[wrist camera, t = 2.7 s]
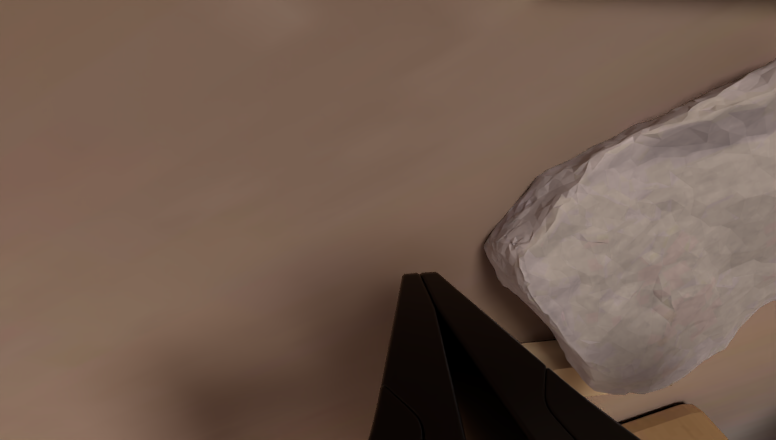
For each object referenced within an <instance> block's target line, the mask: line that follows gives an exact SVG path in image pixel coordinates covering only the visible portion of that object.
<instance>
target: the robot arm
mask: <svg viewBox="0 0 776 440" xmlns="http://www.w3.org/2000/svg"><path fill="white" fill-rule="evenodd" d="M368 440H641V439H640V438H638V437H637V436H636V435H634V434H633V433H631V432H630V431H629V430H627V429H626V428H625V427H623V426H622V425H621V424H619V423H618V422H616V421H615V420H614V419H612V418H611V417H610V416H608V415H607V414H606V413H605V412H603V411H602V410H601V409H599V408H598V407H597V406H595V405H594V404H593V403H591V402H590V401H589V400H587V399H586V398H585V397H584V396H582V395H581V394H580V393H579V392H578V391H576V390H575V389H574V388H573V387H571V386H570V385H569V384H568V383H567V382H565V381H564V380H563V379H562V378H561V377H559V376H558V375H557V374H556V373H555V372H554V371H552V370H551V369H550V368H546V365H545V364H544V363H543V362H542V361H540V360H539V359H538V358H537V357H536V356H535V355H533V354H532V353H531V352H530V351H529V350H527V349H526V348H525V347H524V346H523V345H522V344H520V343H519V342H518V341H517V340H516V339H515V338H513V337H512V336H511V335H510V334H509V333H507V332H506V331H505V330H504V329H503V328H502V327H500V326H499V325H498V324H497V323H496V322H495V321H493V320H492V319H491V318H490V317H489V316H488V315H486V314H485V313H484V312H483V311H482V310H480V309H479V308H478V307H477V306H476V305H475V304H473V303H472V302H471V301H470V300H469V299H468V298H466V297H465V296H464V295H463V294H462V293H460V292H459V291H458V290H457V289H456V288H455V287H453V286H452V285H451V284H450V283H449V282H448V281H446V280H445V279H444V278H443V277H442V276H441V275H439V274H438V273H436V272H425V273H421V274H418V273H411V274H404V275H403V276H402V281H401V286H400V291H399V296H398V302H397V307H396V312H395V317H394V322H393V327H392V332H391V337H390V343H389V348H388V353H387V358H386V363H385V368H384V373H383V379H382V384H381V388H380V393H379V398H378V403H377V408H376V412H375V416H374V421H373V425H372V429H371V433H370V436H369V439H368Z"/></svg>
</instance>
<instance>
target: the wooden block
mask: <svg viewBox="0 0 776 440" xmlns="http://www.w3.org/2000/svg"><path fill="white" fill-rule="evenodd" d="M621 425H622V426H623V427H625V428H626V429H627V430H629V431H630V432H631V433H633V434H634V435H636V436H637V437H638V438H640V439H641V440H728V439H727V438H726V436H725V435H724V434H723V433H722V432H721V431H720V430H719V429H718V428H717V427H716V426H715V424H714V423H713V422H712V421H711V420H710V419H709V418H708V417H707V416H706V415H705V414H704V412H702V411H701V410H700V409H698V408H697V407H695V406H694V405H692V404H681V405H676V406H673V407H670V408H667V409H665V410H662V411H659V412H656V413H653V414H650V415H647V416H644V417H641V418H638V419H635V420H632V421H629V422H626V423H623V424H621Z"/></svg>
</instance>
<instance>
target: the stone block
mask: <svg viewBox="0 0 776 440" xmlns="http://www.w3.org/2000/svg"><path fill="white" fill-rule="evenodd" d="M484 249H485V251H486V254H487V257H488V259H489V261H490V262H491V264H492V265H493V267H494V269H495V271H496V275H497V278H498V279H499V280H500V282H501V283H502V285H503V286H504V287H507V288H509V289H510V290H511V291H512V292H513V293H514V294H516V295H518V297H519V298H521V300H522V301H523V302H524V303H526V304H527V305H528V306H529V307H530V308H531V309H532V310H533V311H534V312H535V313H536V314H537V315H538V316H539V317H540V318H541V319H542V321H543V322H544V323H545V324H546V325H548V327H549V329H550V330H551V331H552V333H553V334H554V336H555V338H556V339H557V341H558V343H559V345H560V347H561V349H562V350H563V352H564V354H565V357H566V359H567V361H568V362H569V363H570V364H571V366H572V367H573V368H574V369H575V370H576V371H577V373H578V374H579V375H580V377H581V379H582V380H583V381H584V382H585V383H586V384H587V385H588V386H589V387H590V388H592V389H593V390H594V391H597V392H602V393H608V394H613V395H626V394H627V393H629V392H630V393H637V394H646V393H649V392H653V391H656V390H659V389H663V388H666V387H668V386H670V385H672V384H673V383H675V382H677V381H678V380H680V379H682V378H683V377H685V376H686V375H687V374H688V373H689V372H691V371H692V370H693V369H694V368H696V367H697V366H698V365H699V364H700V363H702V362H703V361H704V360H707V359H709V358H710V357H711V356H712V355H714V354H716V353H718V352H720V351H722V350H724V349H726V347H727V345H728V344H729V342H730V341H731V340H732V339H733V337H734V336H735V334H736V332H737V331H738V329H739V328H740V327H741V326H742V325H743V324H744V323H745V322H746V321H747V320H748V319H749V318H750V317H751V316H752V315H753V314H754V313H755V312H756V311H757V310H758V309H759V308H760V307H762V306H764V305H766V304H767V303H769V302H771V301H775V300H776V59H774V60H773V61H771V62H769V63H768V64H767V65H765V66H764V67H761V68H759V69H757V70H755V71H752V72H750V73H748V74H746V75H745V76H744V77H742V78H741V79H739V80H737V81H735V82H732V83H729V84H726V85H724V86H721V87H719V88H717V89H714V90H712V91H710V92H708V93H706V94H704V95H702V96H700V97H698V98H696V99H694V100H692V101H689V102H688V103H686V104H685V105H684V106H681V107H678V108H675V109H672V110H671V111H670V112H669V113H667V114H666V115H664V116H660V117H658V118H656V119H654V120H651V121H648V122H644V123H640V124H636V125H634V126H632V127H630V128H628V129H627V130H625V131H623V132H621V133H620V134H618V135H617V136H615V137H613V138H611V139H609V140H607V141H605V142H602V143H600V144H597V145H595V146H592V147H591V148H589V149H588V150H586V151H584V152H582V153H581V154H579V155H578V156H577V157H575V158H573V159H571V160H568V161H566V162H564V163H562V164H560V165H557V166H555V167H552V168H550V169H548V170H546V171H545V172H543V173H542V174H540V175H539V176H537V177H536V178H535V180H534V181H533V183H532V184H531V186H530V188H529V189H528V190H527V191H526V192H525V193H524V195H523V196H522V197H521V198H520V199H519V200H518V201H517V202H516V203H515V204H514V206H513V207H512V208H511V209H510V210H509V211H508V212H507V214H506V215H505V217H504V218H503V219H502V220H501V221H500V222H499V223H498V225H497V226H496V227H495V228H494V230H493V231H492V233H491V234H490V236H489V237H488V239H487V241H486V243H485V245H484Z"/></svg>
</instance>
